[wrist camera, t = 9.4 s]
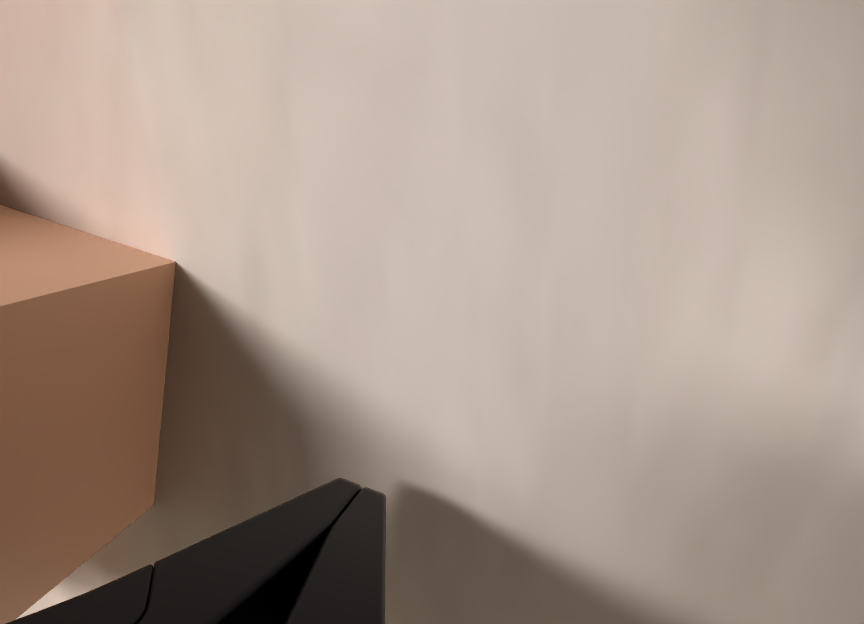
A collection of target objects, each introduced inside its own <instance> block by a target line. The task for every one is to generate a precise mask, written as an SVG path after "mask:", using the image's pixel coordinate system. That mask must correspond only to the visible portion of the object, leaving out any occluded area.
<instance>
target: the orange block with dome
mask: <svg viewBox="0 0 864 624" xmlns="http://www.w3.org/2000/svg"><path fill="white" fill-rule="evenodd" d="M175 265H176V262H175V261H172V260H169V259H166V258H163V257H160V256H156V255H153V254H150V253H147V252H144V251H141V250H138V249H135V248H132V247H129V246H126V245H123V244H119V243H116V242H113V241H110V240H107V239H104V238H101V237H98V236H95V235H92V234H89V233H85V232H82V231H79V230H76V229H73V228H70V227H67V226H64V225H61V224H58V223H55V222H51V221H48V220H45V219H42V218H39V217H36V216H33V215H30V214H27V213H24V212H21V211H18V210H14V209H11V208H8V207H5V206H2V205H0V624H6V623H8V622H11V621H14V620H15V619H16V618H18V617H19V616H20V615H21V614H22V613H24V612H25V611H26V610H27V609H29V608H30V607H31V606H32V605H33V604H35V603H36V602H37V601H38V600H39V599H41V598H42V597H43V596H44V595H45V594H47V593H48V592H49V591H50V590H52V589H53V588H54V587H55V586H56V585H58V584H59V583H60V582H61V581H62V580H64V579H65V578H66V577H67V576H68V575H70V574H71V573H72V572H73V571H75V570H76V569H77V568H78V567H79V566H81V565H82V564H83V563H84V562H85V561H87V560H88V559H89V558H90V557H92V556H93V555H94V554H95V553H96V552H98V551H99V550H100V549H101V548H102V547H104V546H105V545H106V544H107V543H108V542H110V541H111V540H112V539H113V538H115V537H116V536H117V535H118V534H119V533H121V532H122V531H123V530H124V529H125V528H127V527H128V526H129V525H130V524H132V523H133V522H134V521H135V520H136V519H138V518H139V517H140V516H141V515H142V514H144V513H145V512H146V511H147V510H148V509H150V508H151V507H152V506H153V505H154V498H155V487H156V476H157V465H158V453H159V442H160V431H161V420H162V409H163V398H164V387H165V376H166V365H167V354H168V343H169V331H170V320H171V309H172V298H173V287H174V276H175Z"/></svg>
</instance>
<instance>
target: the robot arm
mask: <svg viewBox="0 0 864 624" xmlns="http://www.w3.org/2000/svg"><path fill="white" fill-rule="evenodd" d="M385 549H386V496H385V495H384V494H383V493H380V492H378V491H375V490H372V489H370V488H366V487H365V488H361V486H360V485H359V484H356V483H353V482H351V481H348V480H345V479H342V478H339V479H335V480H333V481H331V482H329V483H327V484H325V485H322V486H320V487H318V488H316V489H314V490H312V491H309V492H307V493H305V494H303V495H301V496H298V497H296V498H294V499H292V500H290V501H288V502H285V503H283V504H281V505H279V506H277V507H275V508H272V509H270V510H268V511H266V512H264V513H261V514H259V515H257V516H255V517H253V518H251V519H248V520H246V521H244V522H242V523H240V524H238V525H235V526H233V527H231V528H229V529H227V530H224V531H222V532H220V533H218V534H216V535H214V536H211V537H209V538H207V539H205V540H203V541H201V542H198V543H196V544H194V545H192V546H190V547H187V548H185V549H183V550H181V551H179V552H177V553H174V554H172V555H170V556H168V557H166V558H164V559H161V560H159V561H157V562H156V563H155V564H154V568H153V565H148V566H146V567H143V568H141V569H139V570H137V571H135V572H133V573H130V574H128V575H126V576H124V577H122V578H119V579H117V580H115V581H112V582H110V583H108V584H105V585H103V586H101V587H98V588H96V589H94V590H91V591H89V592H87V593H85V594H82V595H80V596H77V597H74V598H72V599H69V600H67V601H64V602H61V603H59V604H56V605H54V606H51V607H48V608H46V609H43V610H41V611H38V612H36V613H33V614H30V615H27V616H25V617H22V618H19V619H16V620H14V621H11V622H8V623H6V624H385Z"/></svg>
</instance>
